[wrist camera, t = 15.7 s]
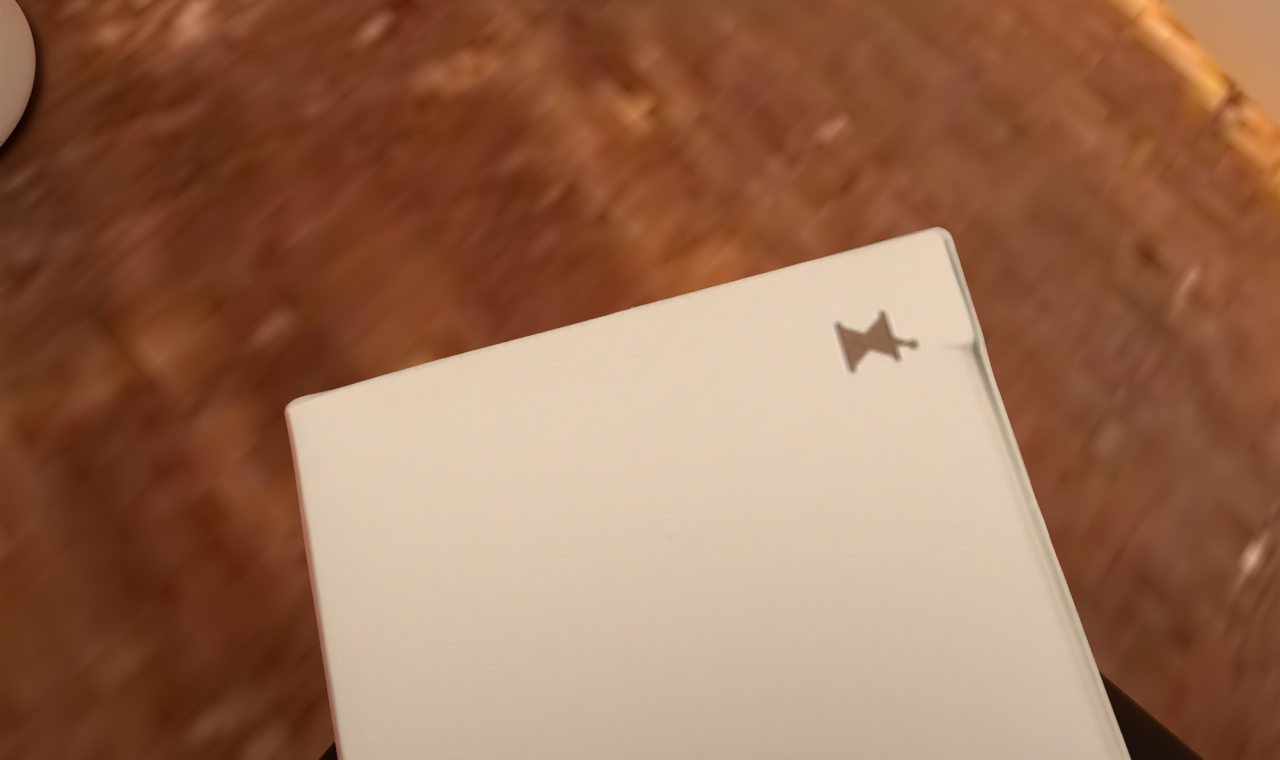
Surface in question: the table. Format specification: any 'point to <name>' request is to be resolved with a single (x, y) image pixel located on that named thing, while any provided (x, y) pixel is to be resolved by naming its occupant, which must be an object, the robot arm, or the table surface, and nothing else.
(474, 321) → the table surface
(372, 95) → the table surface
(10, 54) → the bath foam
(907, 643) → the small box
